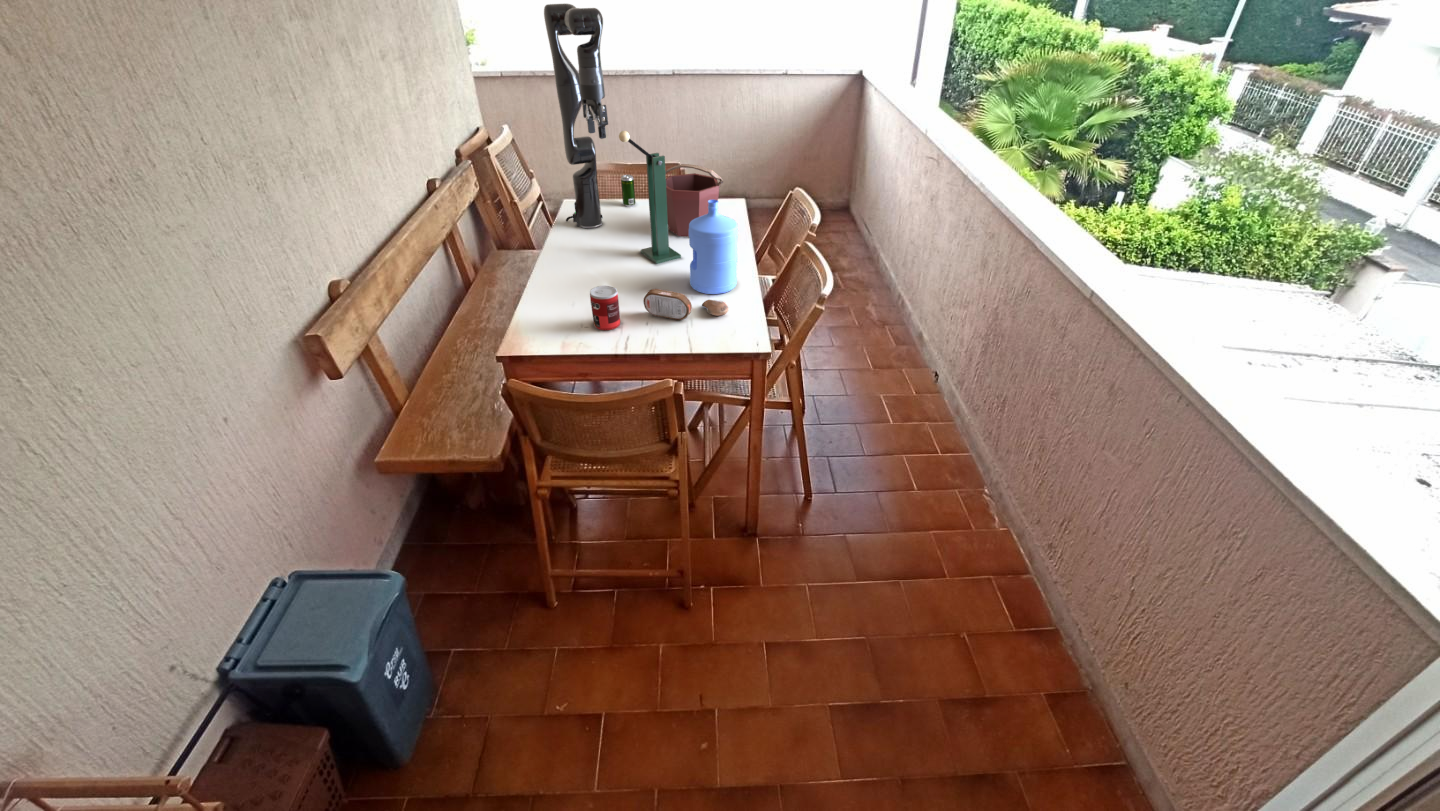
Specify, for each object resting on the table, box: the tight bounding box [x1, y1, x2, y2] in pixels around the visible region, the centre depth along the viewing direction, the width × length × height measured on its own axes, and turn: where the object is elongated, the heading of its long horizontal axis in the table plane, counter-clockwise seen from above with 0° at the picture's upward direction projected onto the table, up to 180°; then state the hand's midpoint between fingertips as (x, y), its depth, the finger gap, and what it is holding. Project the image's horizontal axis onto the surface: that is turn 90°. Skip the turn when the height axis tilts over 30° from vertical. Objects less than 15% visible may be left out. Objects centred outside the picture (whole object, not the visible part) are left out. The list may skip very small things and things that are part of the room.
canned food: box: [589, 285, 621, 331], centre depth 189 cm, size 8×8×11 cm
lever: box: [618, 130, 657, 163], centre depth 208 cm, size 17×3×3 cm
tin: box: [642, 288, 693, 321], centre depth 193 cm, size 15×3×8 cm, turn 71°
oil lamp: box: [701, 299, 729, 317], centre depth 198 cm, size 9×4×8 cm
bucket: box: [665, 163, 724, 238], centre depth 246 cm, size 24×22×25 cm
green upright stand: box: [640, 152, 682, 265], centre depth 222 cm, size 10×12×35 cm
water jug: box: [688, 199, 739, 295], centre depth 206 cm, size 16×16×28 cm
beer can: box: [620, 174, 636, 208], centre depth 273 cm, size 5×5×12 cm
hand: (597, 135), depth 213 cm, fingers open, 8 cm apart
